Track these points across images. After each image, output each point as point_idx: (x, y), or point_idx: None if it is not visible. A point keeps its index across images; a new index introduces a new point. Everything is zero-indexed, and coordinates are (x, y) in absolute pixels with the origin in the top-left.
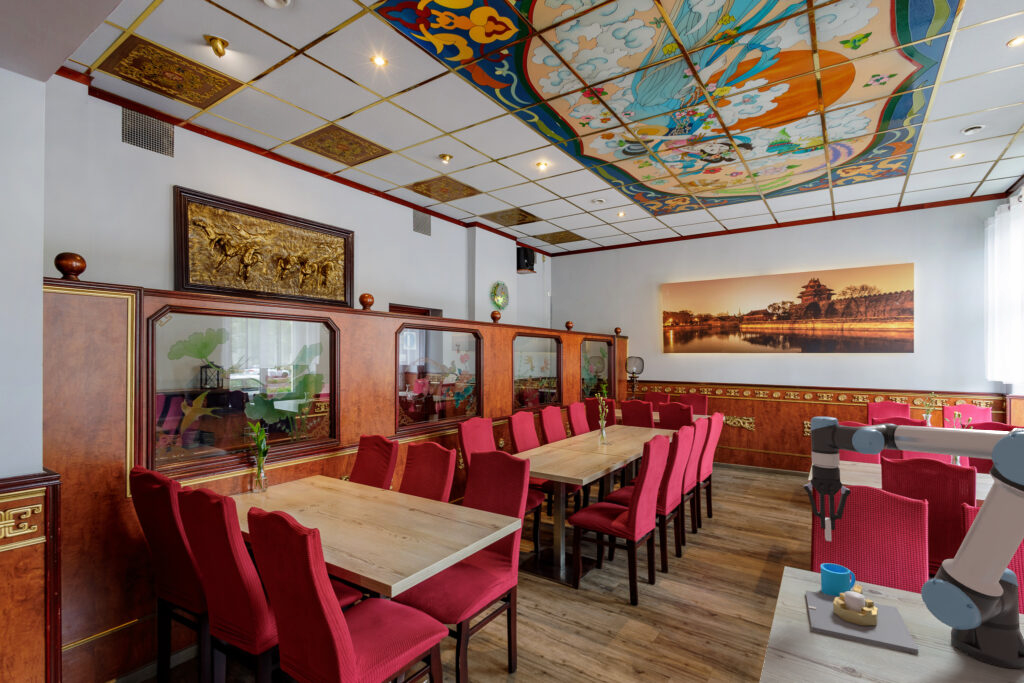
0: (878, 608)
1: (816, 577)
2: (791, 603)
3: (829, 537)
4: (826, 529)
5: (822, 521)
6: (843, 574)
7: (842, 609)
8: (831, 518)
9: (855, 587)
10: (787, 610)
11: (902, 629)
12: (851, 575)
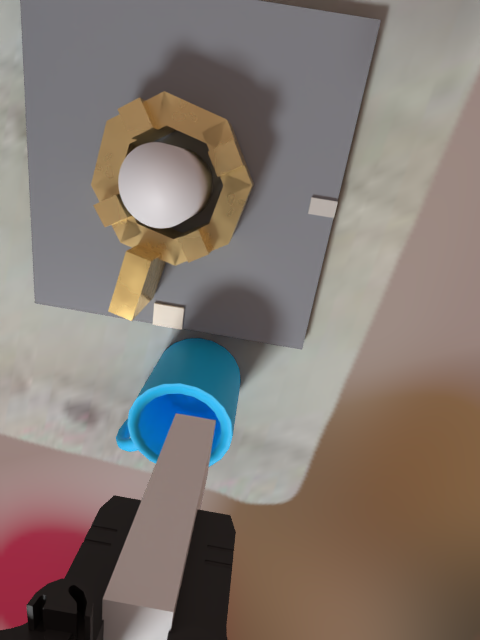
0: (90, 277)
1: (230, 468)
2: (377, 256)
3: (183, 435)
4: (190, 495)
5: (209, 598)
6: (158, 384)
7: (230, 128)
8: (77, 638)
9: (136, 291)
10: (414, 190)
11: (43, 128)
12: (126, 437)
